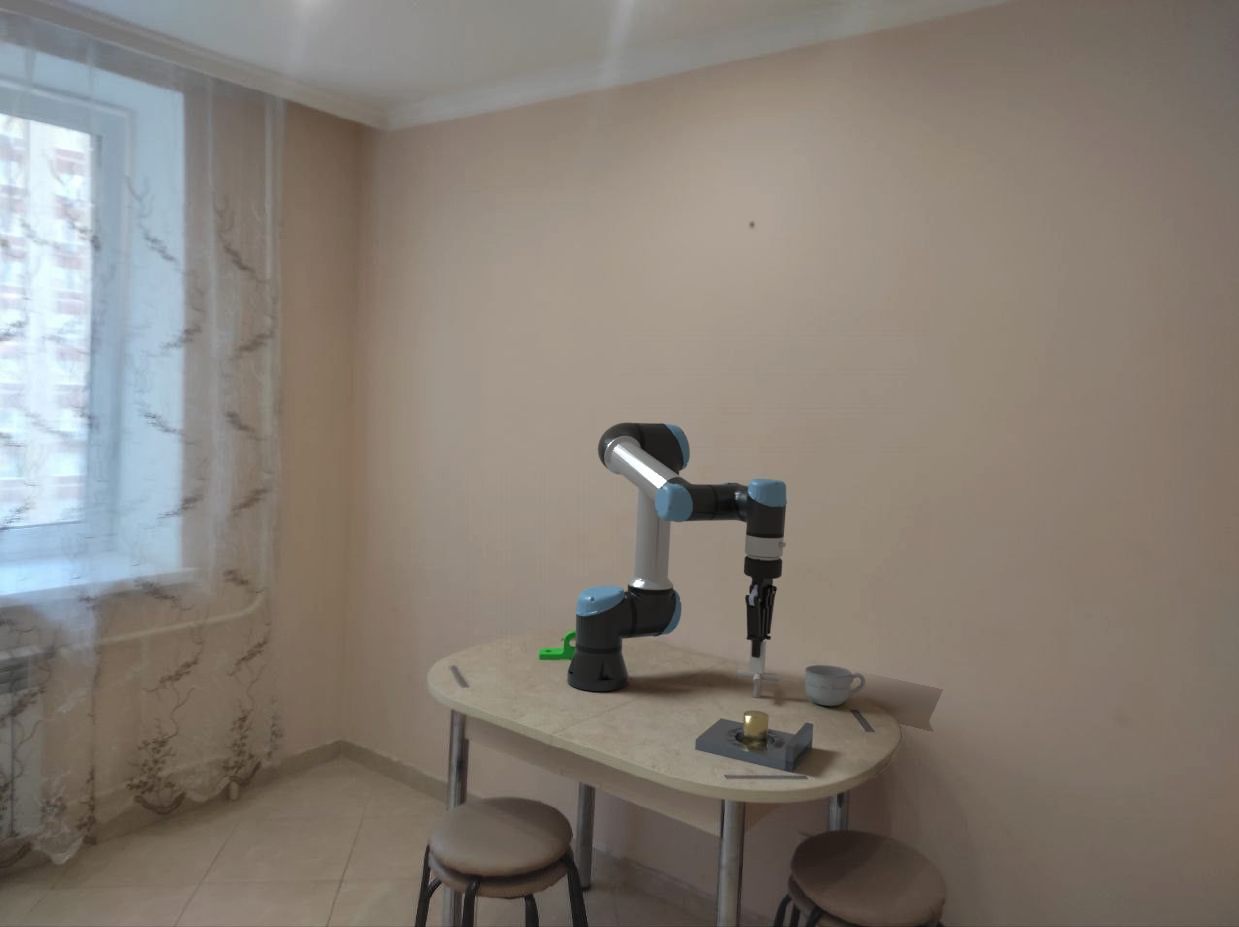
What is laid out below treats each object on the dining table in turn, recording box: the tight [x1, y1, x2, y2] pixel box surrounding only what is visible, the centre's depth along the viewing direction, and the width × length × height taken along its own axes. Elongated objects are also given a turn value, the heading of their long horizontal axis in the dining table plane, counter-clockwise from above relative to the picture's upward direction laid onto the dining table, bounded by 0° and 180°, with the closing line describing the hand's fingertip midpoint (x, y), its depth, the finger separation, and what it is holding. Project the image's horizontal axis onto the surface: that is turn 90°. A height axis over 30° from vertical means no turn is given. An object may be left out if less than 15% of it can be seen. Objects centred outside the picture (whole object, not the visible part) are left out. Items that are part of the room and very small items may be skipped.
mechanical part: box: [538, 630, 576, 661], centre depth 226 cm, size 12×6×8 cm, turn 97°
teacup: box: [804, 664, 866, 707], centre depth 198 cm, size 14×11×8 cm
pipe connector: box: [736, 669, 780, 699], centre depth 200 cm, size 10×10×10 cm
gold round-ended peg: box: [741, 709, 770, 747], centre depth 168 cm, size 5×5×7 cm
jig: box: [694, 717, 814, 773], centre depth 169 cm, size 20×14×5 cm
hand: (756, 671), depth 168 cm, fingers closed
